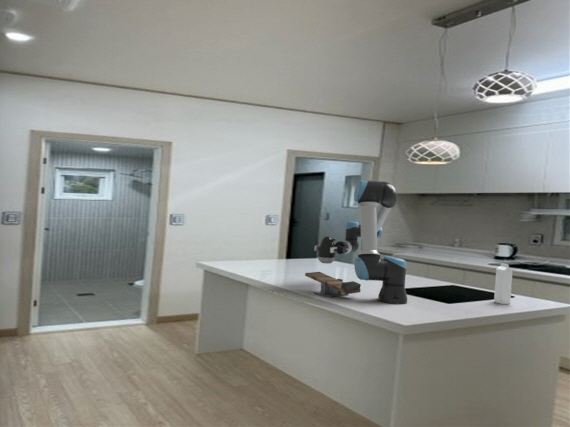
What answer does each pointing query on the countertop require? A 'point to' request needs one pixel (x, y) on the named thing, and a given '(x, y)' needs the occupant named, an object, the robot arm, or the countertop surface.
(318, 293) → the pivot stand
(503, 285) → the milk
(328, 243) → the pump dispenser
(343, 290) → the balance beam
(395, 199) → the robot arm
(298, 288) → the countertop surface
